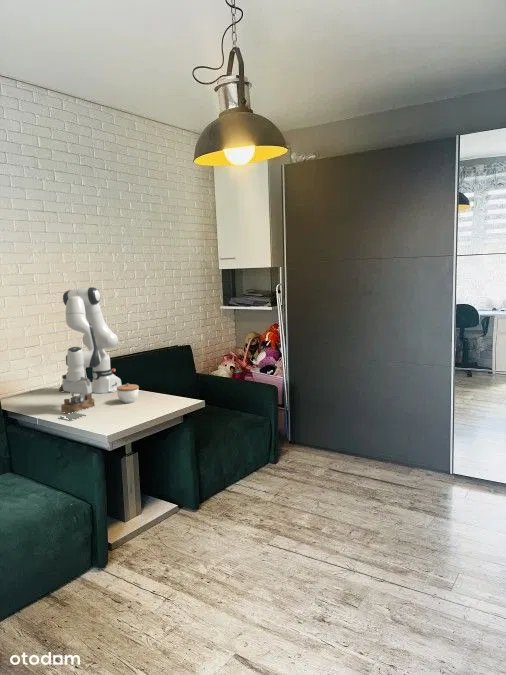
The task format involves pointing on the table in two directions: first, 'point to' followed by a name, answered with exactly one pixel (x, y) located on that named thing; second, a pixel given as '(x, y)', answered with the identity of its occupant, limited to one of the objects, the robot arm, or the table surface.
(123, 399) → the lidded bowl
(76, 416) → the felt mat
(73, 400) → the lever cap
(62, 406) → the plane body
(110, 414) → the table surface
